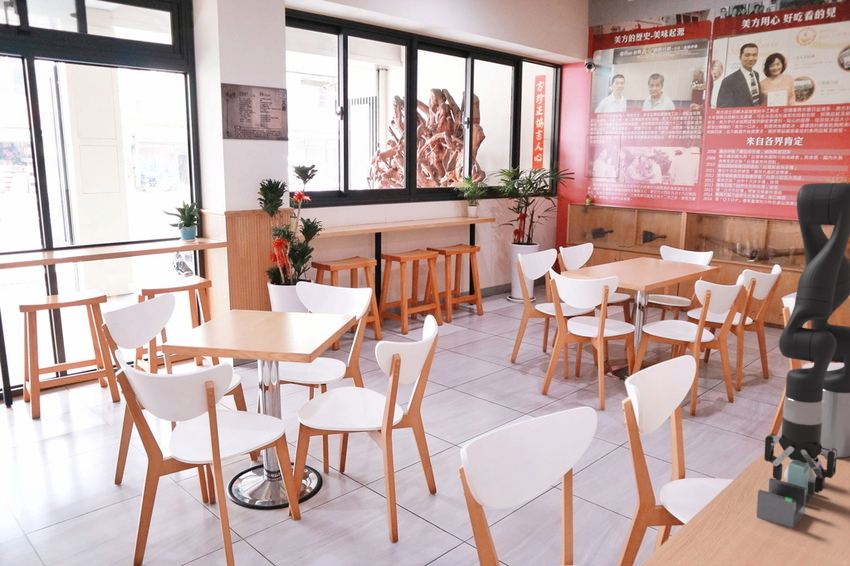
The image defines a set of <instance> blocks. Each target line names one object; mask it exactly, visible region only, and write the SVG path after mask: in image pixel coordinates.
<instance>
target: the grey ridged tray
mask: <svg viewBox="0 0 850 566" xmlns="http://www.w3.org/2000/svg"><path fill="white" fill-rule="evenodd" d="M806 494H807V495H806V502H805V506H806V505H807V504H808V502H809V501H810V500H811V499H812V497H813V496H814V494H815V481H814V480H810V479H808V493H807V491H806Z"/></svg>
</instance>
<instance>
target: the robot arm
mask: <svg viewBox="0 0 850 566" xmlns="http://www.w3.org/2000/svg"><path fill="white" fill-rule="evenodd" d="M796 213H797V218H798V225H799V229H800V233H801V239H802V242H803V243H802V244H803V249H804V260H805V268H804V269H803V271H802V273H801V274H800V277H799V279H798V283H797V289H796V294H795V295H796V296H795V301H794V306H793V308H792V311H791V314H790V317H789V319H788V321H787V323H786V325H785V327H784V328H783V330H782V333H781V335H780V336H779V341H778V349H779V350H780V353H781V354H782V355H783V356H784V357H786V358H787V359H792V360H799V361H805V362H810V363H811V362H812V363H813V366H812V367H808V368H807V367H806V368H804V367H803V368H793V369H791V370H789V371H788V372H787V374H786V382H785V383H786V384H785V395H784V401H783V408H782V420H781V421H782V424H781V435H780V436H777V435H775V433H769V434H767V436H766V437H765V443H764V457H763V459H764V460H765V461H766V462H769V463H770V464H772V465H773V466H772V478H773V479H777V480H780V481H782V478H783V463H782V462H783V461H785V460H786V459H787V458H789V460H790V461H791V460H798V461H800V462H803V463H806V462H808V464H809V466H810V467H811V469H812V470H813V473H814V475H815V492H814V494H815V493H816V494H819V493H821V492H822V491H824V489H825V484H826V483H825V481H826V478H828V479H832V478H833V476H834V475H836V472H837V471H836V469H837V459H838V458H847V457H848V458H850V326H846V325H837V324H831V323H829V322H828V320H829V319H830V317H832V315H833V313H834V312H836V311H837V310H838V309H839V308H840V307H841V306H842V305H843V304H844V303H845V301H846V300H848V298H849V297H850V261H849V259H848V258H847V256H846V255H845V253H846V250H847V246H848V242H849V240H850V183H849V182H815V183H812V182H811V183H806V184H803V185H802V186H801V187H800V188H799V189H798V192H797V196H796ZM822 226H833V228H832V229H833V230H832V232H831V234H830V236H829V237H827V235H826V233H825V232H824V230H823V227H822ZM809 321H810V328H807V327H804V325H805V324H806V323H808V322H809ZM831 362H836V363H840V364H841V363H842V364H843V367H840V368H838V369H837V368H836V369H832V370H831V369H830V370H828V369H829V366H830V363H831ZM778 443H779V445H780V447H781V449H782V450H783V452H781V453H780V454H779V455H778V456H775V455H774V453H775V446H776V445H777V444H778ZM819 455H823V456H824V457H823V458H824V459H825V460H826V469H825V468H824V466H823V464H822V461H821V459H820V458H819Z"/></svg>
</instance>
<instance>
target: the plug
mask: <svg viewBox="0 0 850 566" xmlns="http://www.w3.org/2000/svg"><path fill="white" fill-rule="evenodd" d="M790 461H791V460H790ZM788 465H789V467H788V466H787V467H788V481H787V483H791V484H794V485H798V486H801V487H805V488H806V491H807V493H808V479H809V464H808V462H806V463H803V462H800V461H798V460H792V461H791V462H789V463H788ZM806 495H807V494H806Z"/></svg>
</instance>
